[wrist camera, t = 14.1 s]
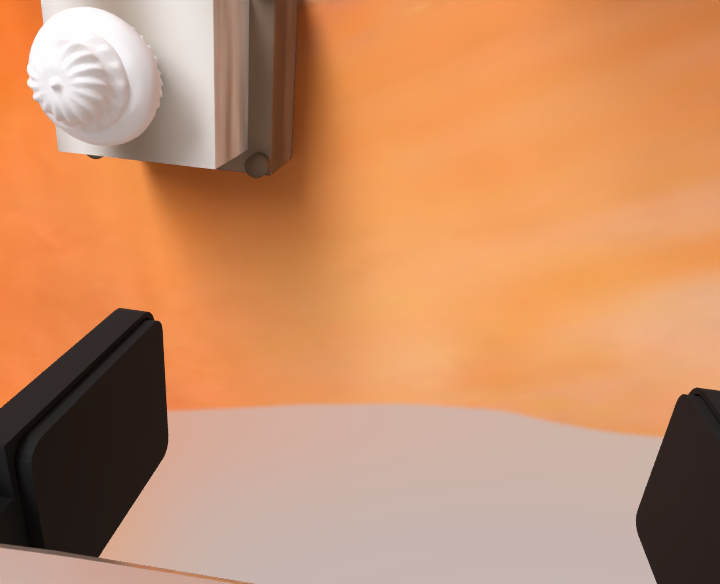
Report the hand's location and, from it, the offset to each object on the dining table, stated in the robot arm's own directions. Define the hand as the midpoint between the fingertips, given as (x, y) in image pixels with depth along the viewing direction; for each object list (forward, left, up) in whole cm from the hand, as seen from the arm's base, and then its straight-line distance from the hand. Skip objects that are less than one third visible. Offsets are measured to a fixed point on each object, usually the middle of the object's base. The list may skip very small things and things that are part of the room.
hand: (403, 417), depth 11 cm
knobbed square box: (+16, -3, -34) cm, 38 cm away
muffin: (+16, -3, -22) cm, 28 cm away
